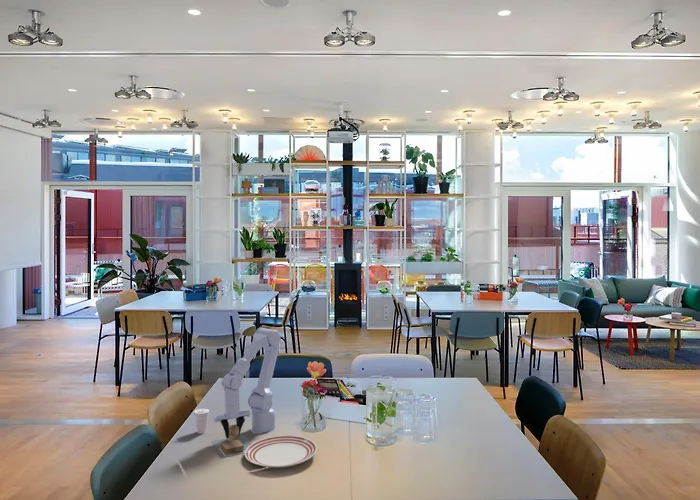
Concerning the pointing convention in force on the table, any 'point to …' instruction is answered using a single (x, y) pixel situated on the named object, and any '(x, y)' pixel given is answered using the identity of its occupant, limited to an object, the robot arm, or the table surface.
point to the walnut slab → (232, 447)
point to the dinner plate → (280, 451)
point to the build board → (217, 443)
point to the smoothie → (201, 419)
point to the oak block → (233, 432)
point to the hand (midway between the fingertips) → (232, 436)
